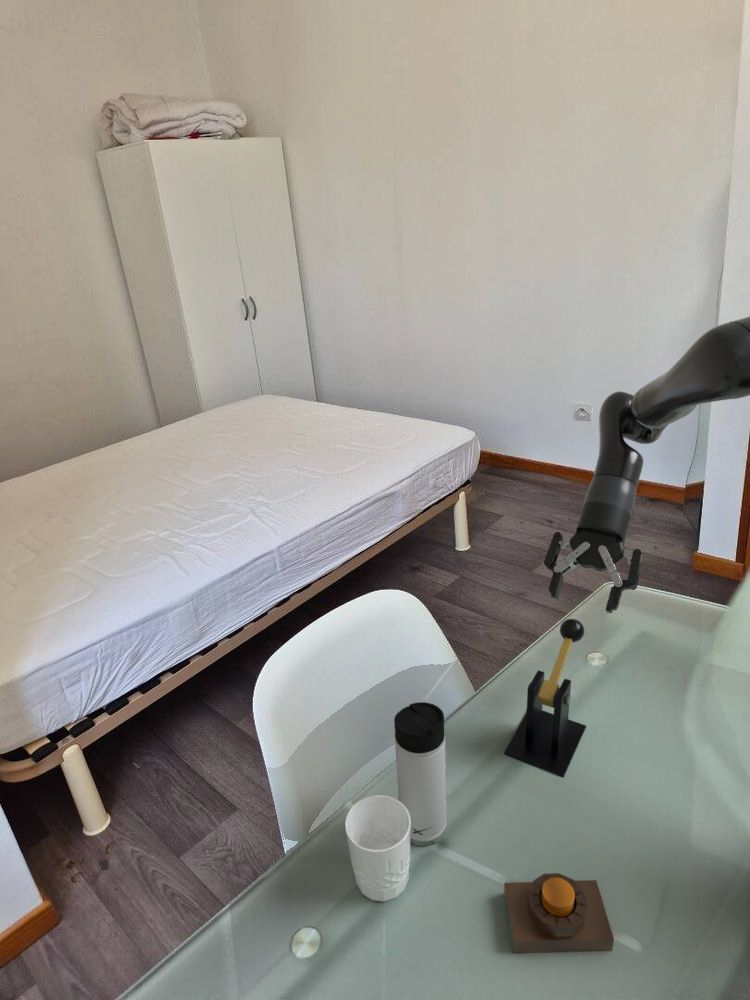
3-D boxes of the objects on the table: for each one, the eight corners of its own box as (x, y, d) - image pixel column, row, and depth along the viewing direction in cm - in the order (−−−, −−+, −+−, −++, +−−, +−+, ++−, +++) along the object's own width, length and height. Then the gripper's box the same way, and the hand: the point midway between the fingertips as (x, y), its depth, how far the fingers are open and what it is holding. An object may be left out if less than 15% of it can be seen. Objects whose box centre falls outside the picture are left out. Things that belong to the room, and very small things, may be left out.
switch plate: (594, 891, 83) (597, 869, 81) (612, 951, 77) (615, 929, 75) (503, 894, 84) (504, 872, 82) (513, 953, 77) (514, 931, 75)
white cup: (360, 915, 82) (354, 860, 78) (344, 858, 89) (338, 804, 85) (422, 895, 84) (419, 839, 80) (402, 841, 91) (398, 787, 86)
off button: (569, 886, 80) (570, 876, 79) (577, 916, 77) (578, 906, 76) (538, 887, 80) (539, 877, 80) (545, 917, 77) (545, 907, 76)
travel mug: (424, 858, 88) (419, 743, 80) (390, 825, 93) (382, 713, 84) (458, 829, 92) (457, 716, 83) (424, 799, 97) (420, 689, 88)
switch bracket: (529, 711, 111) (532, 653, 105) (585, 731, 106) (591, 671, 101) (503, 758, 102) (505, 697, 97) (563, 781, 98) (568, 719, 93)
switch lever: (565, 623, 108) (563, 611, 106) (587, 629, 107) (586, 617, 104) (535, 703, 101) (532, 692, 99) (559, 711, 100) (556, 701, 97)
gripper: (559, 492, 111) (531, 587, 107) (651, 509, 104) (625, 611, 100) (567, 508, 117) (541, 598, 114) (655, 525, 110) (630, 622, 107)
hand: (581, 604), depth 107 cm, fingers open, 8 cm apart
